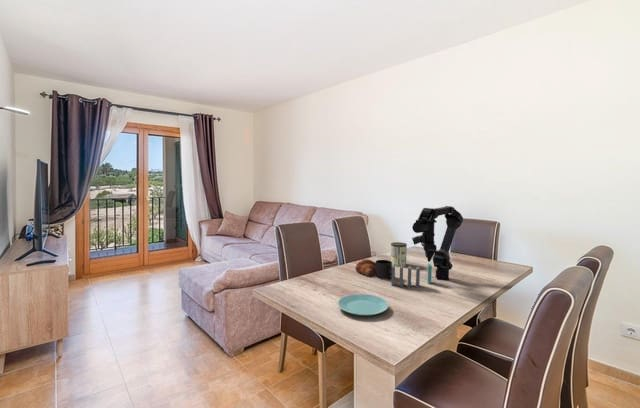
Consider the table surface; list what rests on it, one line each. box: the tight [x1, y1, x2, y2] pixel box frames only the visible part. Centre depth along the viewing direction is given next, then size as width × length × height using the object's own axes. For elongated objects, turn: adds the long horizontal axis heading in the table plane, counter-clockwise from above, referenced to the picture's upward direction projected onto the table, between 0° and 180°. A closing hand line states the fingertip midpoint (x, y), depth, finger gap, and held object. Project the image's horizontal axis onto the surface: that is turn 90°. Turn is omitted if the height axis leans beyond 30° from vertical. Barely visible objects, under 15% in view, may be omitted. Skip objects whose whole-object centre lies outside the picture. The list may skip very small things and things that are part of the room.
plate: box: [337, 293, 390, 317], centre depth 135 cm, size 22×22×3 cm
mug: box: [374, 259, 392, 280], centre depth 178 cm, size 9×12×9 cm
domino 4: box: [415, 266, 421, 289], centre depth 163 cm, size 2×5×10 cm, turn 165°
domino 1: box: [391, 265, 396, 287], centre depth 166 cm, size 2×5×10 cm, turn 165°
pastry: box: [355, 259, 376, 278], centre depth 190 cm, size 17×15×8 cm
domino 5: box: [426, 263, 433, 285], centre depth 169 cm, size 2×5×10 cm, turn 165°
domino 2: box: [399, 266, 404, 288], centre depth 165 cm, size 2×5×10 cm, turn 165°
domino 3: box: [407, 265, 412, 288], centre depth 164 cm, size 2×5×10 cm, turn 165°
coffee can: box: [390, 241, 408, 267], centre depth 206 cm, size 10×10×14 cm
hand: (427, 259), depth 168 cm, fingers open, 9 cm apart
